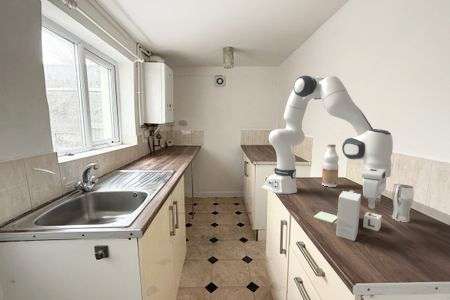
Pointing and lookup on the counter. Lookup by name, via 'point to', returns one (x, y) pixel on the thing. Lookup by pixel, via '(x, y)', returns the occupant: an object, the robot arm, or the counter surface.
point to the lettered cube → (372, 221)
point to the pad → (326, 217)
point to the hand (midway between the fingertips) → (374, 204)
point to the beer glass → (402, 201)
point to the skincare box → (348, 215)
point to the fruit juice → (330, 167)
